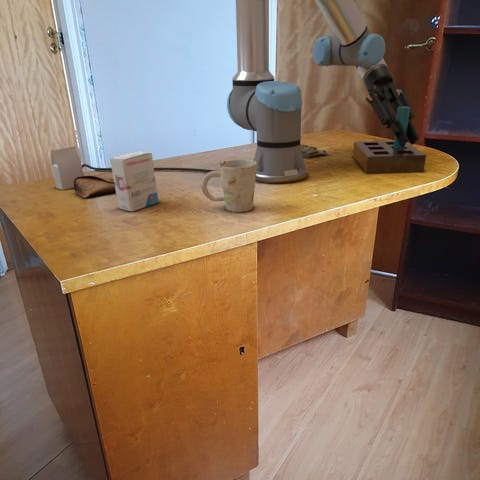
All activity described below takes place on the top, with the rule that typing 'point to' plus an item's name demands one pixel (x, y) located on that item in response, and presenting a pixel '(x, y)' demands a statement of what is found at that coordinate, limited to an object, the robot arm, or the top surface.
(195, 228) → the top surface
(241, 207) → the mug
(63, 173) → the grey box
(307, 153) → the keyboard
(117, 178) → the ink box
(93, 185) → the sunglasses case
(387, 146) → the peg board
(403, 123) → the peg
